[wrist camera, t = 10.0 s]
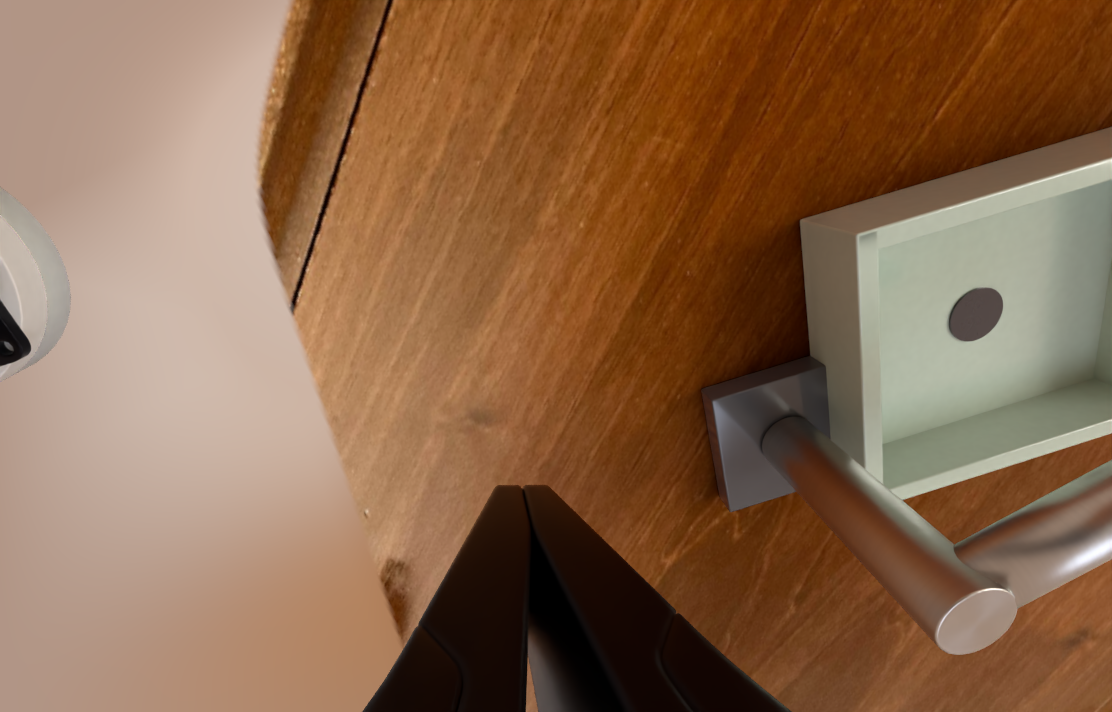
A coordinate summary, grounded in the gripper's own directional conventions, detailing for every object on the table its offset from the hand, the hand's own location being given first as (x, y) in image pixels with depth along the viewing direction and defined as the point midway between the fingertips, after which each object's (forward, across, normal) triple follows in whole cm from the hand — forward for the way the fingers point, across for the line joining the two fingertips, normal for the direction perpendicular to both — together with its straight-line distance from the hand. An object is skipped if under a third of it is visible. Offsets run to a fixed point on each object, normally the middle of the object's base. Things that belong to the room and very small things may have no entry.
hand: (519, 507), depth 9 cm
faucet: (+12, -17, +3) cm, 21 cm away
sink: (+13, -18, 0) cm, 22 cm away
